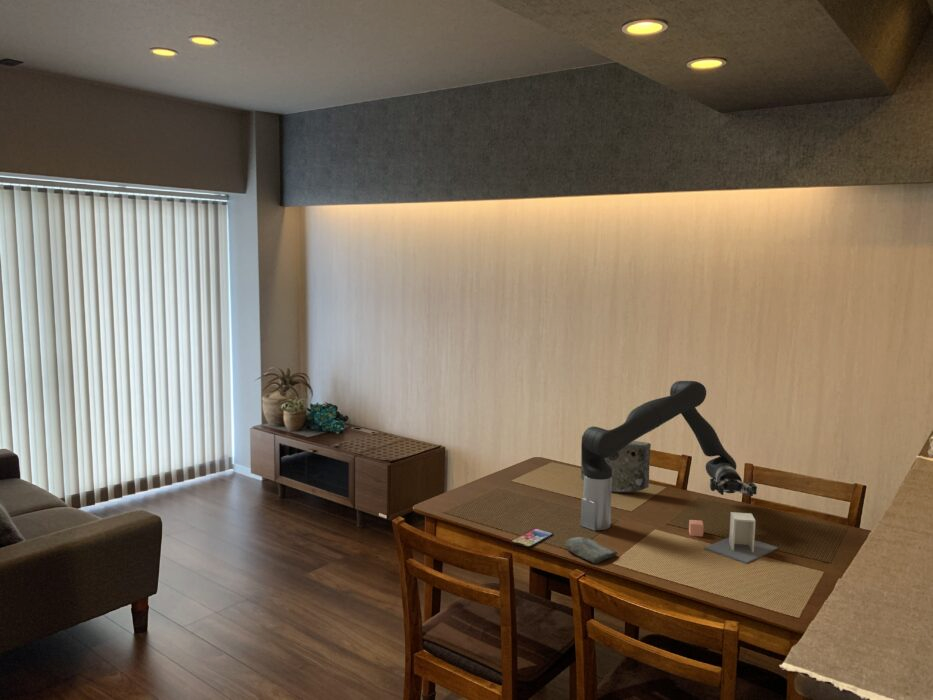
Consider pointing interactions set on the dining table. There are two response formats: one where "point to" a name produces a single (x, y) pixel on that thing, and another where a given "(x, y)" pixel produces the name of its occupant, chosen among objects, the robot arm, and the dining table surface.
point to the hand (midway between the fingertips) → (736, 493)
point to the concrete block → (629, 467)
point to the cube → (696, 528)
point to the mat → (741, 550)
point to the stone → (589, 549)
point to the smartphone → (531, 538)
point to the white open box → (742, 529)
